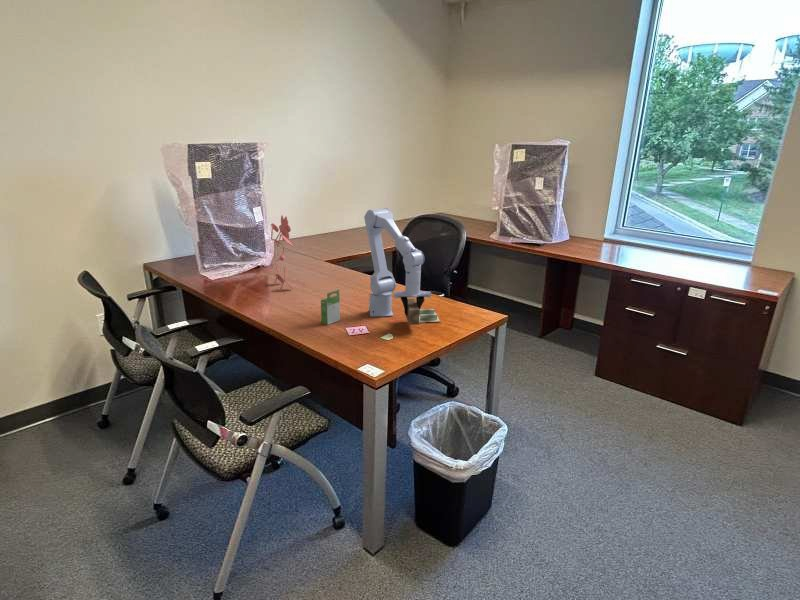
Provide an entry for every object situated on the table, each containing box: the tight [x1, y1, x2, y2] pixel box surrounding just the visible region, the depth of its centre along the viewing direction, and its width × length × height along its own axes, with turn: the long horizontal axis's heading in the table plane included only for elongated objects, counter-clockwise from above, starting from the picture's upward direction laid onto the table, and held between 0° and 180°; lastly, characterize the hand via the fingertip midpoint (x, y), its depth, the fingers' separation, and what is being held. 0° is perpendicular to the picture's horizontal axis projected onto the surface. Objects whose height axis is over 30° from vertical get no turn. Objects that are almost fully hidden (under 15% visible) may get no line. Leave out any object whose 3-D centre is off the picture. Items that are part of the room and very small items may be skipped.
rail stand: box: [419, 308, 441, 324], centre depth 200 cm, size 9×10×3 cm
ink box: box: [320, 289, 341, 326], centre depth 192 cm, size 7×4×13 cm, turn 141°
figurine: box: [270, 215, 305, 295], centre depth 230 cm, size 15×26×35 cm, turn 33°
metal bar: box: [403, 298, 420, 326], centre depth 190 cm, size 4×13×6 cm, turn 8°
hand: (411, 314), depth 190 cm, fingers closed on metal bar, 4 cm apart
